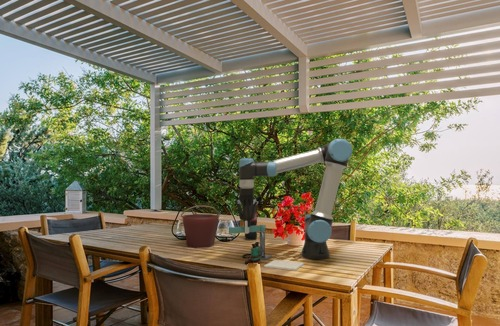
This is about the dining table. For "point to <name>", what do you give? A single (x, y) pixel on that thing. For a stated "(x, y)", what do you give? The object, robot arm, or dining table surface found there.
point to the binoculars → (253, 254)
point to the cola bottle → (253, 223)
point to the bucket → (200, 228)
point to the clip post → (263, 246)
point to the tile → (284, 265)
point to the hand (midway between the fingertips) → (247, 233)
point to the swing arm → (251, 229)
